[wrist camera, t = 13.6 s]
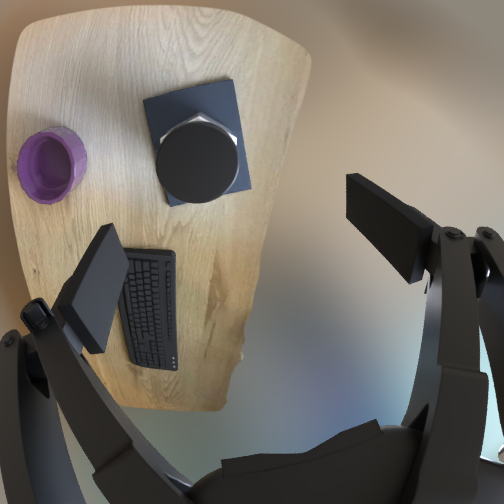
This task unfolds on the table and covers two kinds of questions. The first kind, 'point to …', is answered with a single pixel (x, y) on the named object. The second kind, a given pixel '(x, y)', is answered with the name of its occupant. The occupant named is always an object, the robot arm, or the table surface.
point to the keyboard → (150, 308)
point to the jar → (197, 160)
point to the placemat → (190, 103)
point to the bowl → (51, 164)
